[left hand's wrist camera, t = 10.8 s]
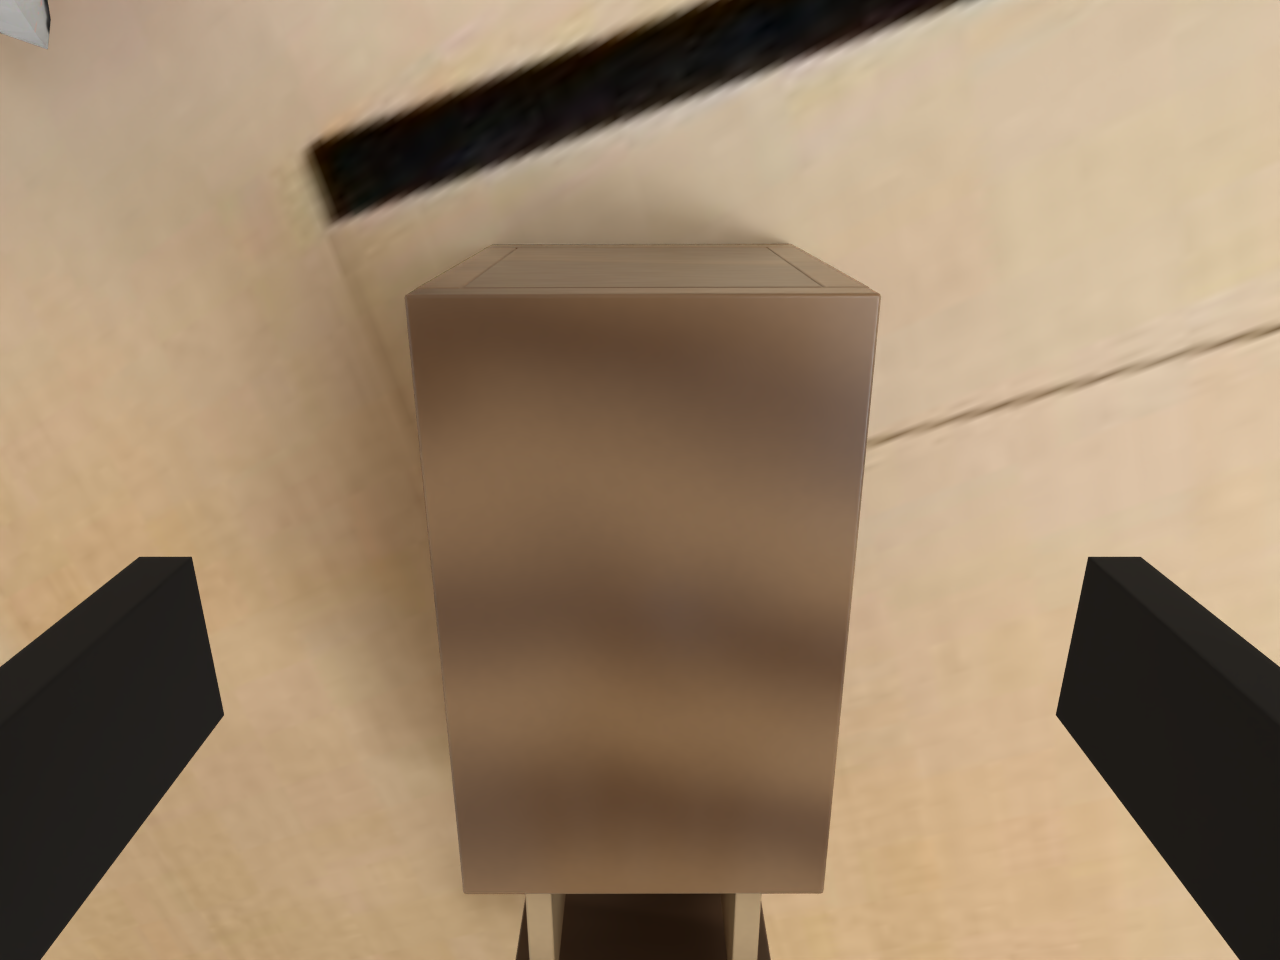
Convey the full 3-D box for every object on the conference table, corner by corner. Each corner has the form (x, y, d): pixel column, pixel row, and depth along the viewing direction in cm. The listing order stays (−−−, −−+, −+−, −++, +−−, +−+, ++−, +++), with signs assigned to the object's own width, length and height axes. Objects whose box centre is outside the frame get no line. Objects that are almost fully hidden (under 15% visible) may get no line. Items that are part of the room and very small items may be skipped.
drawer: (742, 936, 39) (772, 1164, 30) (542, 936, 39) (514, 1164, 30) (765, 513, 31) (814, 651, 22) (519, 514, 31) (472, 651, 22)
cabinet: (767, 670, 35) (823, 894, 24) (516, 670, 35) (463, 895, 24) (792, 244, 29) (882, 293, 18) (490, 244, 29) (403, 294, 18)
